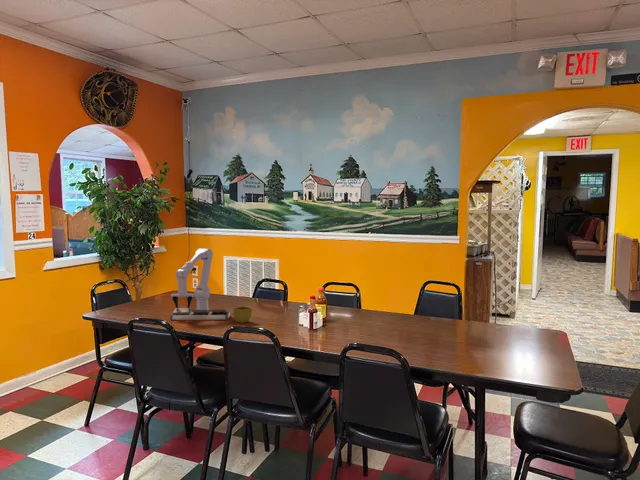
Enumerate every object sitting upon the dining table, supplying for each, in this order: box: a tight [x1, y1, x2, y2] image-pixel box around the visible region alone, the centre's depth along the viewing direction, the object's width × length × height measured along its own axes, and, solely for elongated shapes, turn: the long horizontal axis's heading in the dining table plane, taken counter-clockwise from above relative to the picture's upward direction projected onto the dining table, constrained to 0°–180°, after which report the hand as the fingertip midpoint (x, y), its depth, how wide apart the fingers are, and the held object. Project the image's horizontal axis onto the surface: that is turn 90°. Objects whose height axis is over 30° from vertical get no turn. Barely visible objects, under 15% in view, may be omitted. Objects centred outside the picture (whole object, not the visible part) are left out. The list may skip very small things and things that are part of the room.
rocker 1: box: [191, 309, 210, 313], centre depth 295 cm, size 7×10×2 cm
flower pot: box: [232, 305, 253, 324], centre depth 285 cm, size 9×9×9 cm
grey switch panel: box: [169, 310, 231, 321], centre depth 295 cm, size 9×37×3 cm, turn 92°
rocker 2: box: [209, 309, 228, 312], centre depth 296 cm, size 7×10×2 cm
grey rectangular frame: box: [172, 307, 192, 314], centre depth 295 cm, size 7×10×2 cm
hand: (182, 307), depth 296 cm, fingers open, 7 cm apart
